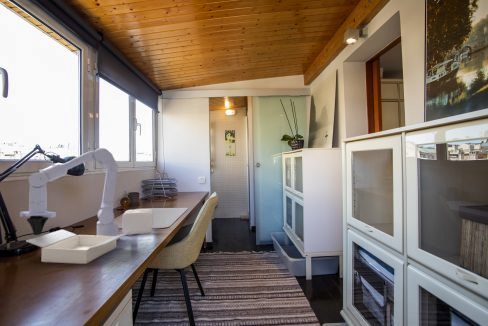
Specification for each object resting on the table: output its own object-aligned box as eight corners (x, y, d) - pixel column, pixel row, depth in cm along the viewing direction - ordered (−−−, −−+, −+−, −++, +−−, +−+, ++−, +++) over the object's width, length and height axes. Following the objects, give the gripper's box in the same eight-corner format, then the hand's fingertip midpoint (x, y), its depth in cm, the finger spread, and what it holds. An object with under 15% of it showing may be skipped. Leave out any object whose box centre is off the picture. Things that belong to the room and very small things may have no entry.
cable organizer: (120, 235, 126) (120, 213, 126) (124, 230, 137) (124, 209, 137) (151, 233, 130) (151, 211, 130) (153, 228, 140) (153, 208, 141)
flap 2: (130, 231, 107) (131, 232, 107) (115, 235, 107) (116, 236, 107) (106, 243, 90) (106, 244, 90) (88, 248, 91) (88, 249, 91)
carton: (78, 246, 110) (78, 234, 110) (116, 247, 108) (116, 236, 108) (41, 261, 92) (41, 248, 92) (86, 263, 90) (86, 250, 90)
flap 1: (26, 240, 94) (26, 241, 94) (42, 246, 93) (42, 247, 93) (62, 229, 110) (62, 230, 110) (76, 234, 109) (76, 235, 109)
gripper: (12, 202, 99) (12, 236, 99) (45, 203, 98) (44, 237, 97) (29, 200, 106) (29, 231, 106) (60, 200, 105) (59, 232, 104)
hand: (37, 234), depth 102 cm, fingers closed
